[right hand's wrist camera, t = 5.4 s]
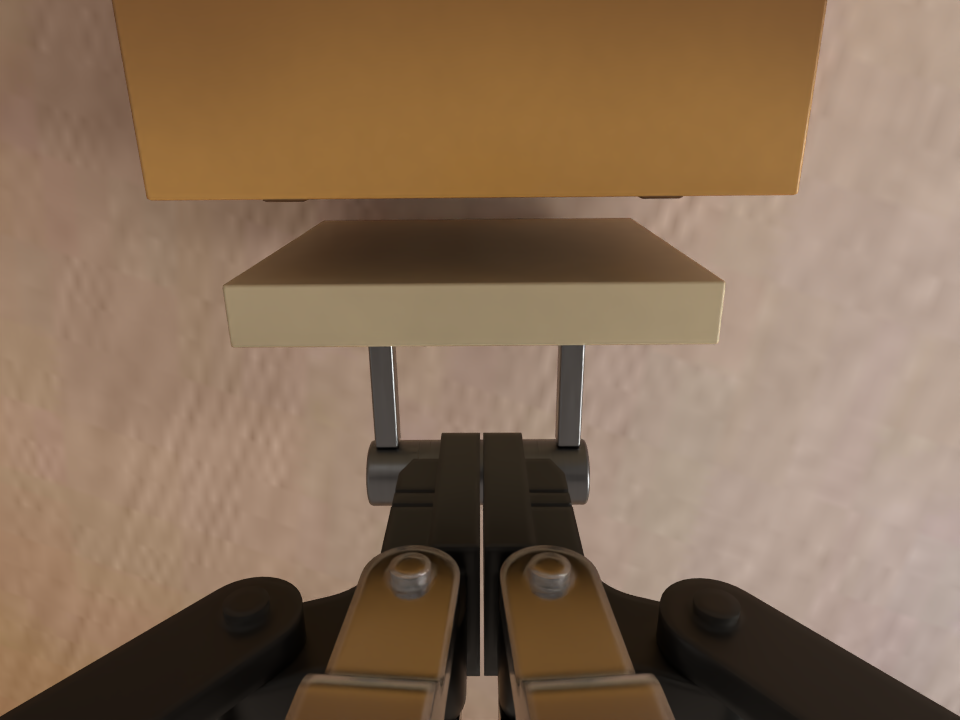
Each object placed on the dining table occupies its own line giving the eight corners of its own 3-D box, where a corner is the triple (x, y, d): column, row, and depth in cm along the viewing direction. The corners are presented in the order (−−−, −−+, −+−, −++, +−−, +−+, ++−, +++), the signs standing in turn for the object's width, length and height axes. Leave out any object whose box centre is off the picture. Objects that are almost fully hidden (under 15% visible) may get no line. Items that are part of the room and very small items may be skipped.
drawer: (616, 432, 22) (688, 600, 14) (342, 434, 22) (267, 602, 14) (685, -568, 14) (931, -1397, 6) (253, -560, 14) (-23, -1374, 6)
